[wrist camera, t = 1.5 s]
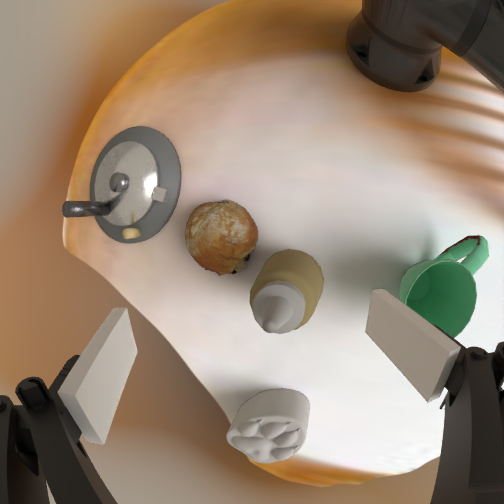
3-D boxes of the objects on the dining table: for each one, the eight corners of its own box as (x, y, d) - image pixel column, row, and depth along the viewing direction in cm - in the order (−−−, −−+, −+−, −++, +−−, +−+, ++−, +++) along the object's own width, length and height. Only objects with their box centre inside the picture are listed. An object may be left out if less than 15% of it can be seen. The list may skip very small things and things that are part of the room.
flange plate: (111, 138, 41) (69, 127, 31) (182, 151, 38) (141, 135, 28) (92, 213, 43) (50, 214, 34) (157, 240, 40) (113, 247, 30)
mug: (410, 329, 34) (431, 361, 24) (370, 284, 35) (385, 307, 25) (474, 258, 30) (510, 270, 20) (438, 209, 31) (472, 207, 21)
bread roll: (261, 209, 41) (246, 181, 34) (264, 276, 37) (246, 259, 30) (202, 218, 43) (177, 195, 36) (199, 281, 40) (170, 267, 33)
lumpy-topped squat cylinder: (231, 410, 43) (214, 441, 35) (281, 375, 40) (271, 408, 31) (271, 441, 42) (261, 473, 34) (324, 411, 39) (322, 446, 30)
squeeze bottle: (312, 310, 37) (302, 383, 20) (258, 292, 39) (209, 349, 21) (331, 256, 35) (340, 293, 18) (274, 238, 37) (233, 258, 20)
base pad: (110, 123, 42) (96, 118, 38) (197, 136, 38) (185, 129, 34) (85, 223, 46) (70, 225, 42) (163, 259, 42) (148, 263, 38)
